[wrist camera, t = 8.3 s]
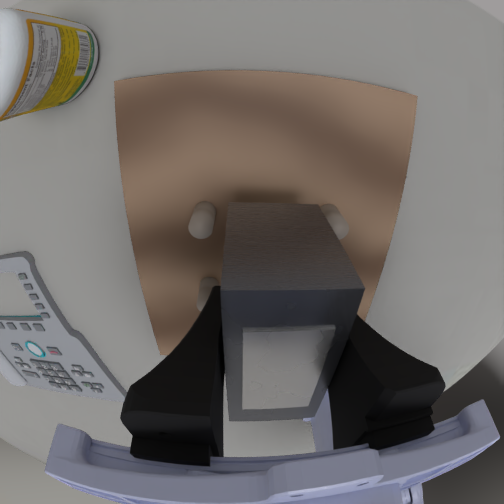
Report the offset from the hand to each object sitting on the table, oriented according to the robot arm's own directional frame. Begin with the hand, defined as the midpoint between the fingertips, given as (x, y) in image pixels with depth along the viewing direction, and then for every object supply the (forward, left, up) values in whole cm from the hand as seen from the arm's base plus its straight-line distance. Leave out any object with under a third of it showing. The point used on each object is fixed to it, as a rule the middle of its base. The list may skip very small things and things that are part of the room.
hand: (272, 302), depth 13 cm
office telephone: (-12, +27, -6) cm, 30 cm away
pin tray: (0, 0, -6) cm, 6 cm away
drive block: (0, 0, -2) cm, 2 cm away
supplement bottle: (+12, +12, -6) cm, 18 cm away
